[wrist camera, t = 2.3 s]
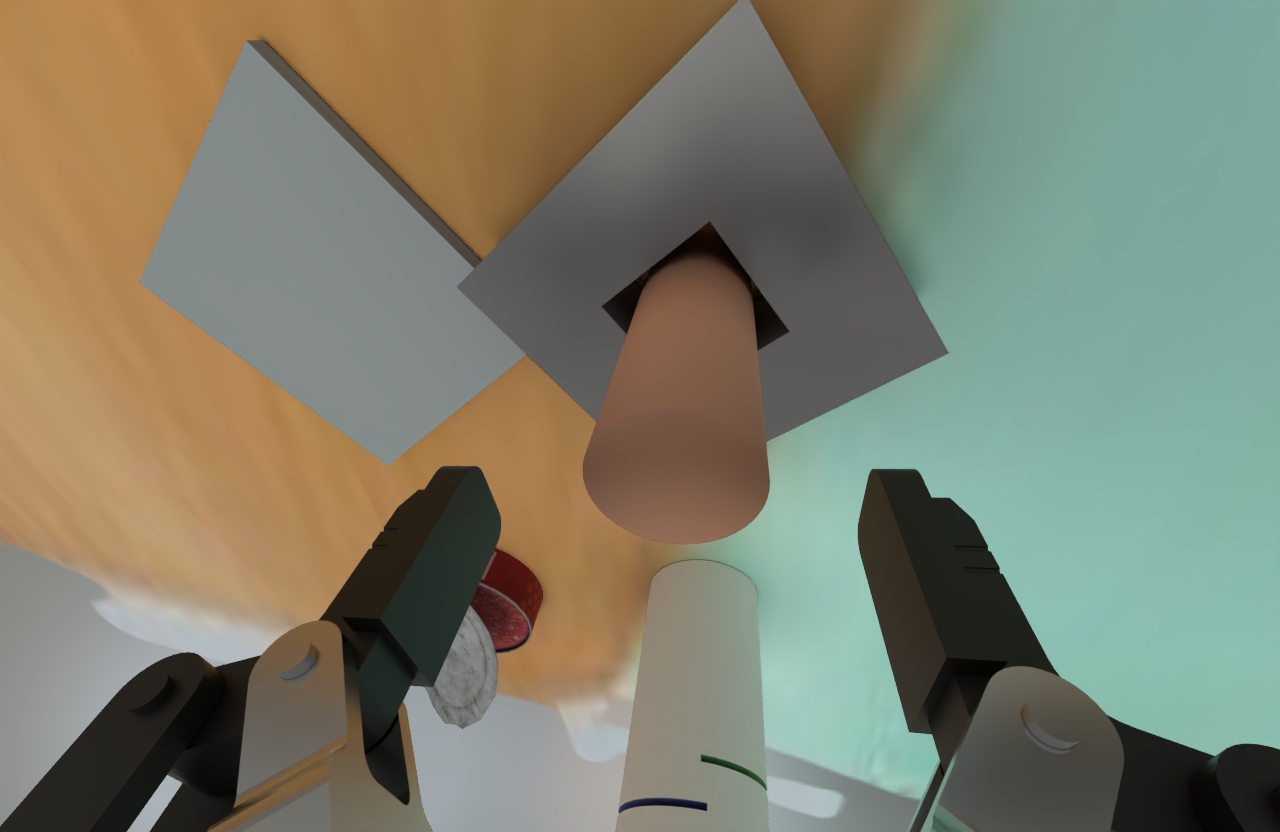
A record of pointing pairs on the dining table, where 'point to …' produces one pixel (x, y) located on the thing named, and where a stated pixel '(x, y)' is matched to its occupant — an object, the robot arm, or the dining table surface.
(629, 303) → the gray square hole block
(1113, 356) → the dining table surface
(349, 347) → the mat
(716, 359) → the plug
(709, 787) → the cylindrical container
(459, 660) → the canned food
